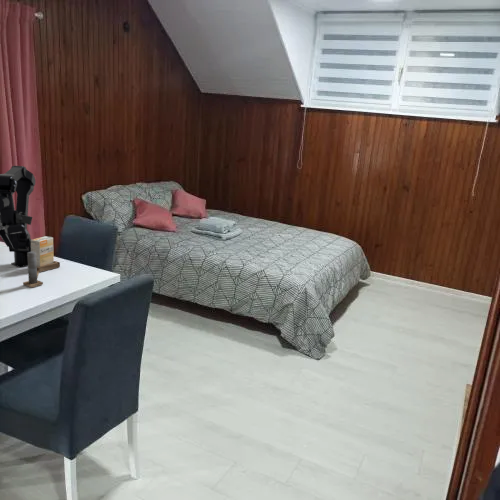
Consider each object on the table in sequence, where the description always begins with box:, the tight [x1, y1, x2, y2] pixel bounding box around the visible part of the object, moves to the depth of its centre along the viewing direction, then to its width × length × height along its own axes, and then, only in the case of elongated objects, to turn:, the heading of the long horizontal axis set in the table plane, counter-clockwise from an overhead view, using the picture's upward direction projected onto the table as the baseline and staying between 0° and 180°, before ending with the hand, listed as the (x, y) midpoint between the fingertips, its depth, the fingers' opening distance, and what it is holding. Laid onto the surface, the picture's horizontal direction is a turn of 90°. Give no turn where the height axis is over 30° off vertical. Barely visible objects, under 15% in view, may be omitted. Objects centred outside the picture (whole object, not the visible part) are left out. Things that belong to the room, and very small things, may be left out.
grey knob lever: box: [22, 252, 61, 288], centre depth 191 cm, size 16×22×13 cm
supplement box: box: [31, 235, 55, 267], centre depth 200 cm, size 8×5×13 cm, turn 161°
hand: (12, 248), depth 183 cm, fingers open, 9 cm apart
